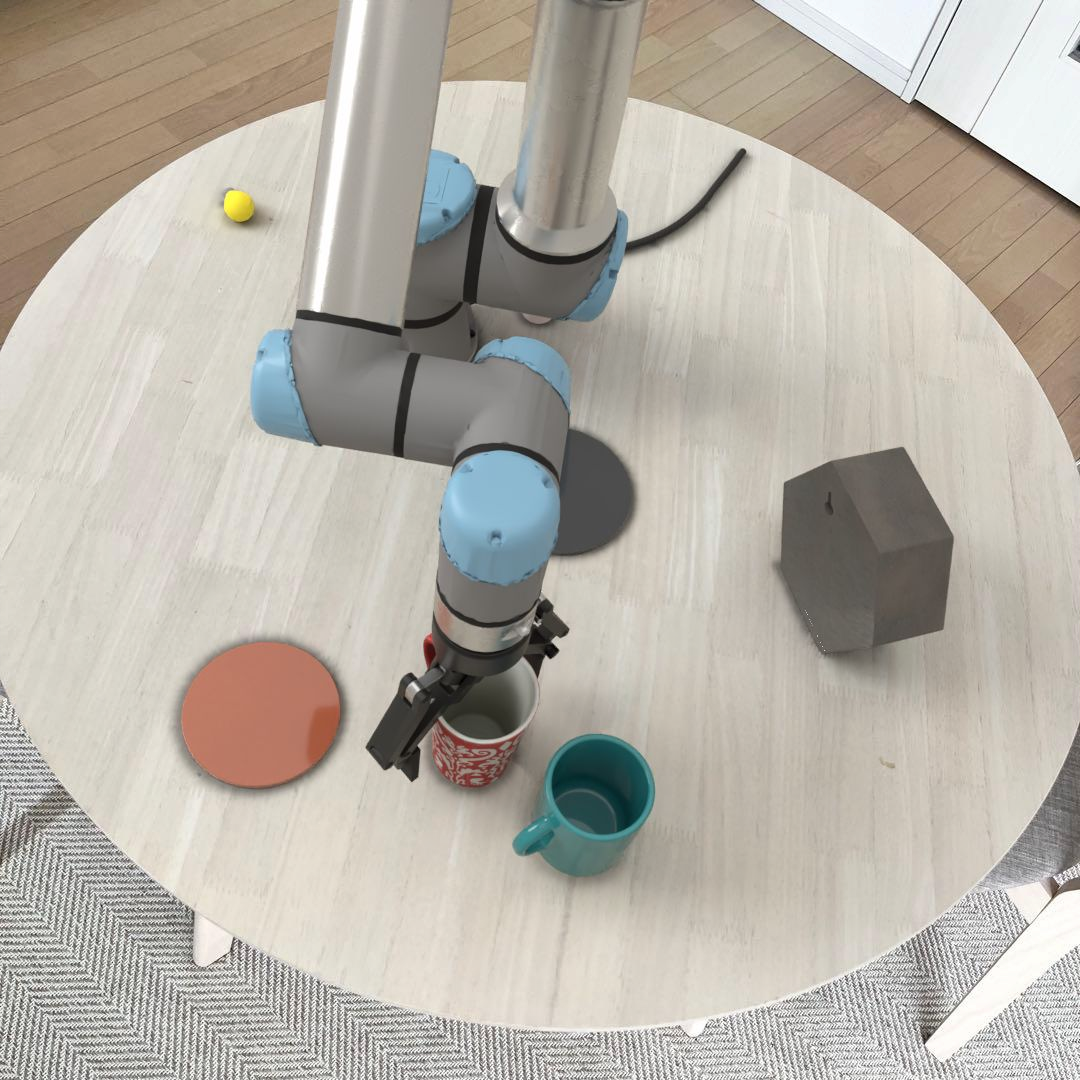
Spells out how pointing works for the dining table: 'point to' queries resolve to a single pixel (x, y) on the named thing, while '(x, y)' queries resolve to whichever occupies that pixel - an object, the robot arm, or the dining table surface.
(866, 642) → the dark grey boxy piece
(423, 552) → the dining table surface
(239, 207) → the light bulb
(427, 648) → the mug
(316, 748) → the coaster terracotta
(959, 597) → the dining table surface
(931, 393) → the dining table surface
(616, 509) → the coaster slate
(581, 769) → the cup
